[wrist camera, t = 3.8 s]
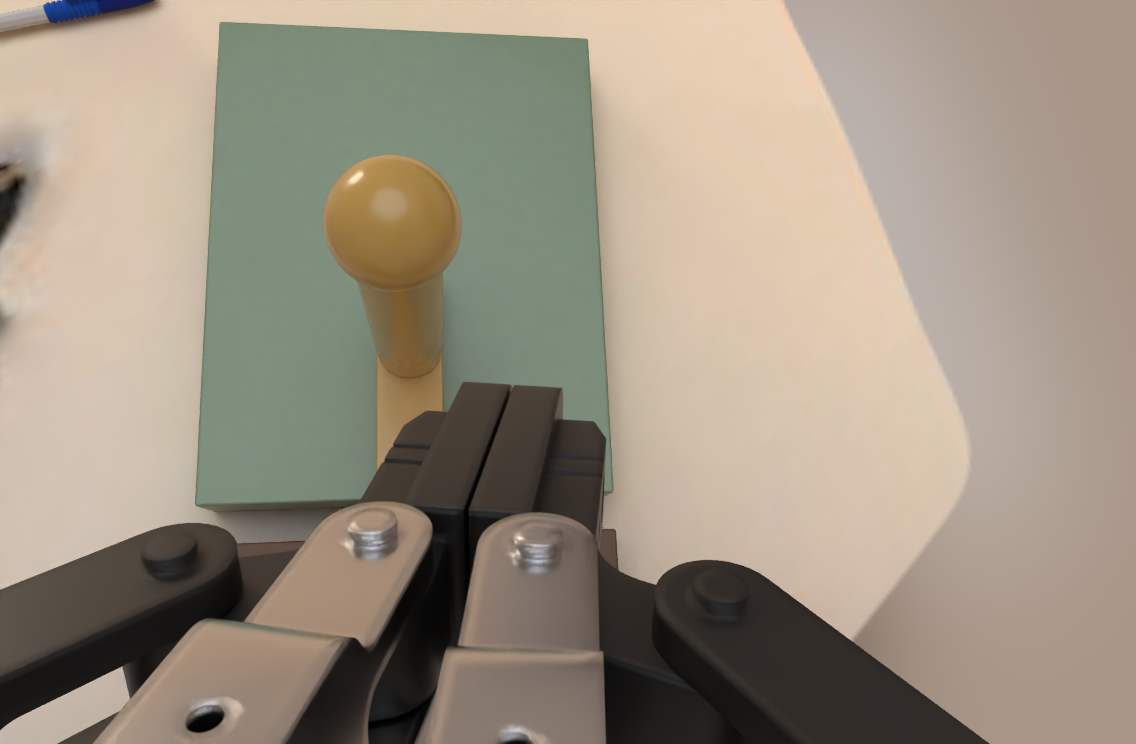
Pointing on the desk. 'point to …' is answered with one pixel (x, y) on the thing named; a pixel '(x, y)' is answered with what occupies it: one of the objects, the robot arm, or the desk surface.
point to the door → (332, 298)
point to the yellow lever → (397, 276)
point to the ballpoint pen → (62, 12)
